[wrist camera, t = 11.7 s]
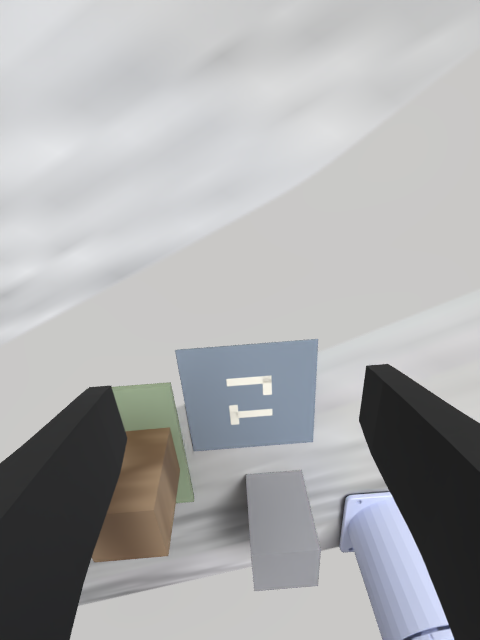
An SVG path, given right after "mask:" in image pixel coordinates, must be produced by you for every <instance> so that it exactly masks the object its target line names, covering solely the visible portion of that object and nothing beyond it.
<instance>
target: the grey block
mask: <svg viewBox="0 0 480 640" xmlns="http://www.w3.org/2000/svg"><path fill="white" fill-rule="evenodd" d="M246 485H247V501H248V516H249V532H250V547H251V560H252V571H253V581H254V591H260V590H261V591H262V590H274V589H285V588H297V587H309V586H318V577H319V566H320V553H321V549H320V545H319V541H318V536H317V532H316V528H315V524H314V520H313V515H312V511H311V507H310V503H309V499H308V495H307V490H306V486H305V482H304V478H303V474H302V470H295V471H283V472H270V473H258V474H246Z"/></svg>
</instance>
